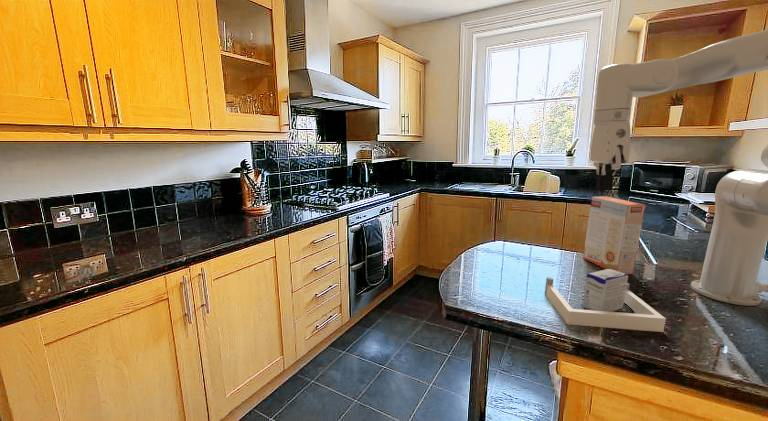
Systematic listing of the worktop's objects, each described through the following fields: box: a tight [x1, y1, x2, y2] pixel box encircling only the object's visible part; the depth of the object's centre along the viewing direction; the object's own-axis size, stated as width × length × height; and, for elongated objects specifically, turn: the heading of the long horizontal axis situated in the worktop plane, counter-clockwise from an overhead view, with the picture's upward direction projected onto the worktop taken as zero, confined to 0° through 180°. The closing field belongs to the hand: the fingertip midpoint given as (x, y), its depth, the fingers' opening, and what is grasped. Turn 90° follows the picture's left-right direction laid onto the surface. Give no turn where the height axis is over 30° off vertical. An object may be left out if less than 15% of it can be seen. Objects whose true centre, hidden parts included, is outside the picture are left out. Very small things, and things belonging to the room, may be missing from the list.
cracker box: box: [582, 195, 647, 275], centre depth 100 cm, size 14×6×21 cm, turn 6°
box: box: [582, 269, 629, 312], centre depth 76 cm, size 8×4×9 cm, turn 114°
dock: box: [544, 276, 667, 333], centre depth 75 cm, size 18×14×4 cm
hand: (603, 190), depth 87 cm, fingers closed
